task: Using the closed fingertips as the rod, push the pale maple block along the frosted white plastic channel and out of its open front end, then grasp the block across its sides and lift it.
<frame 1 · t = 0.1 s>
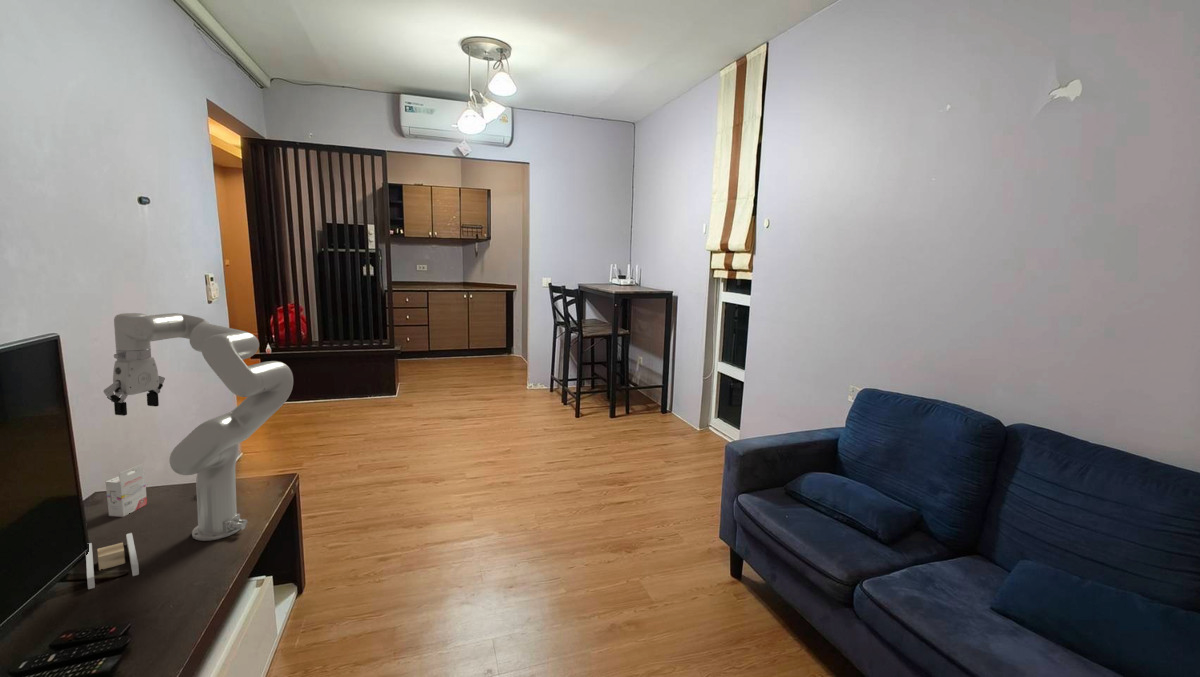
hand: (137, 410, 149), 37 cm above the tv stand, tool pointing down, fingers open, 9 cm apart
ink cartridge box: (128, 510, 161), on the tv stand
frosted channel: (112, 564, 134), on the tv stand
maple block: (111, 563, 135), on the tv stand
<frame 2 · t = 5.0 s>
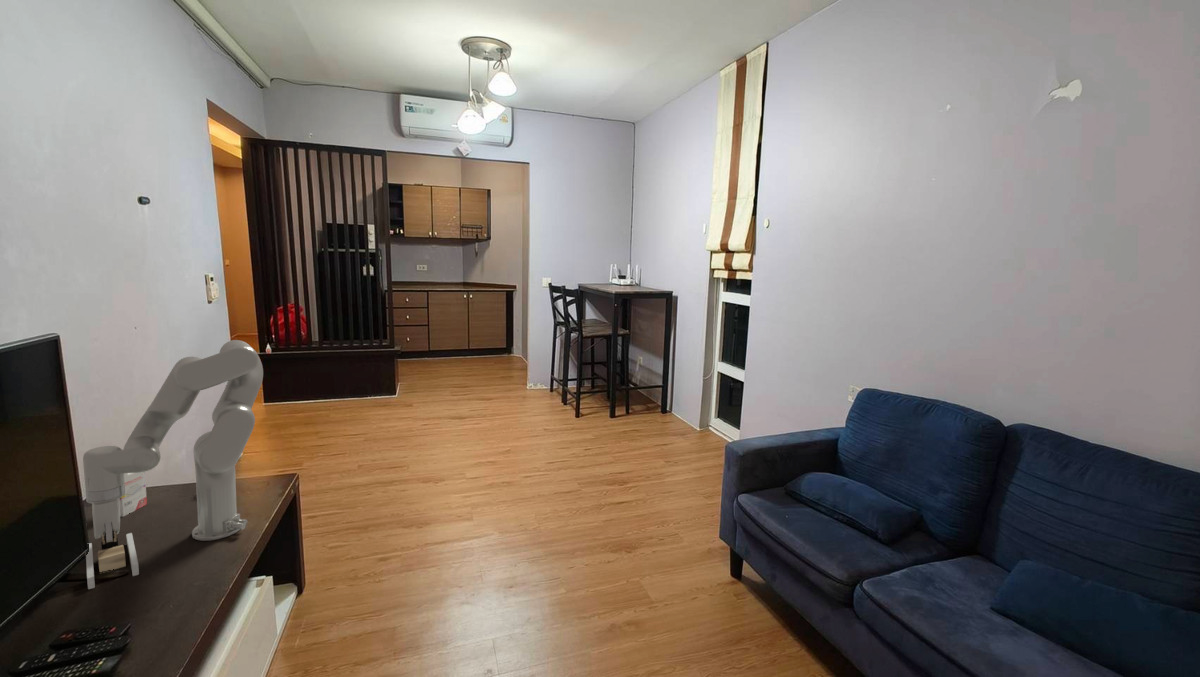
hand: (110, 554, 136), 1 cm above the tv stand, tool pointing down, fingers closed
maple block: (112, 565, 133), on the tv stand
everything else where it was.
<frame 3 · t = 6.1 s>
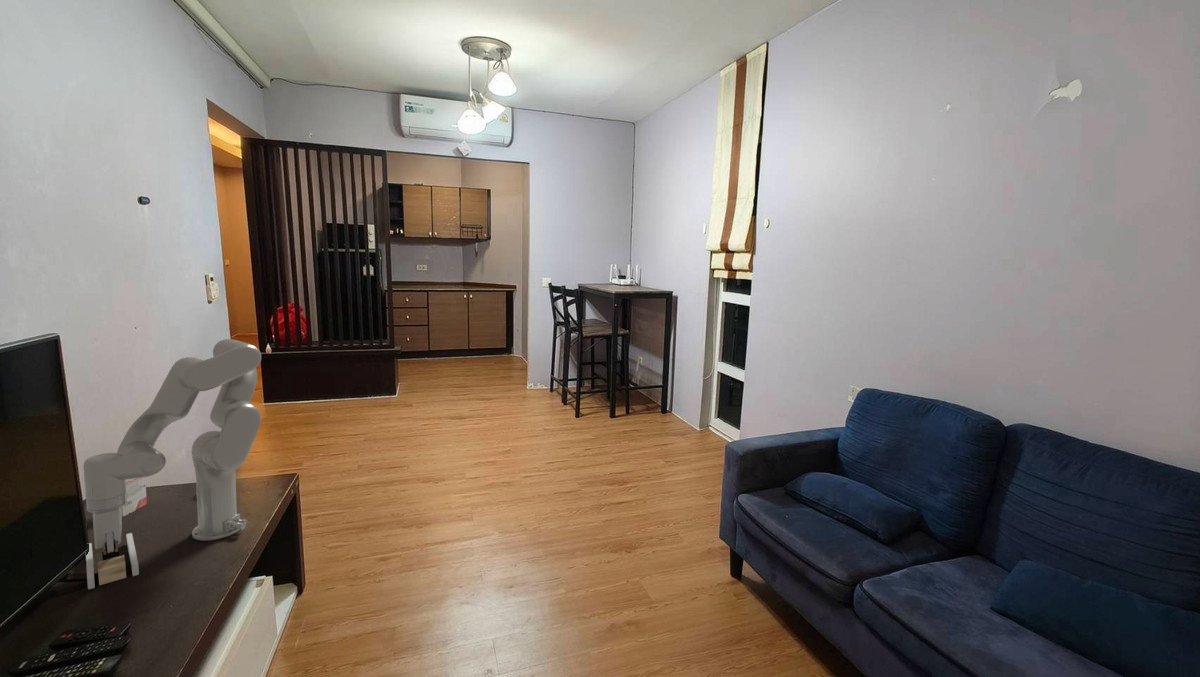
hand: (111, 564, 132), 1 cm above the tv stand, tool pointing down, fingers closed
maple block: (112, 576, 129), on the tv stand, touching gripper
everything else where it was.
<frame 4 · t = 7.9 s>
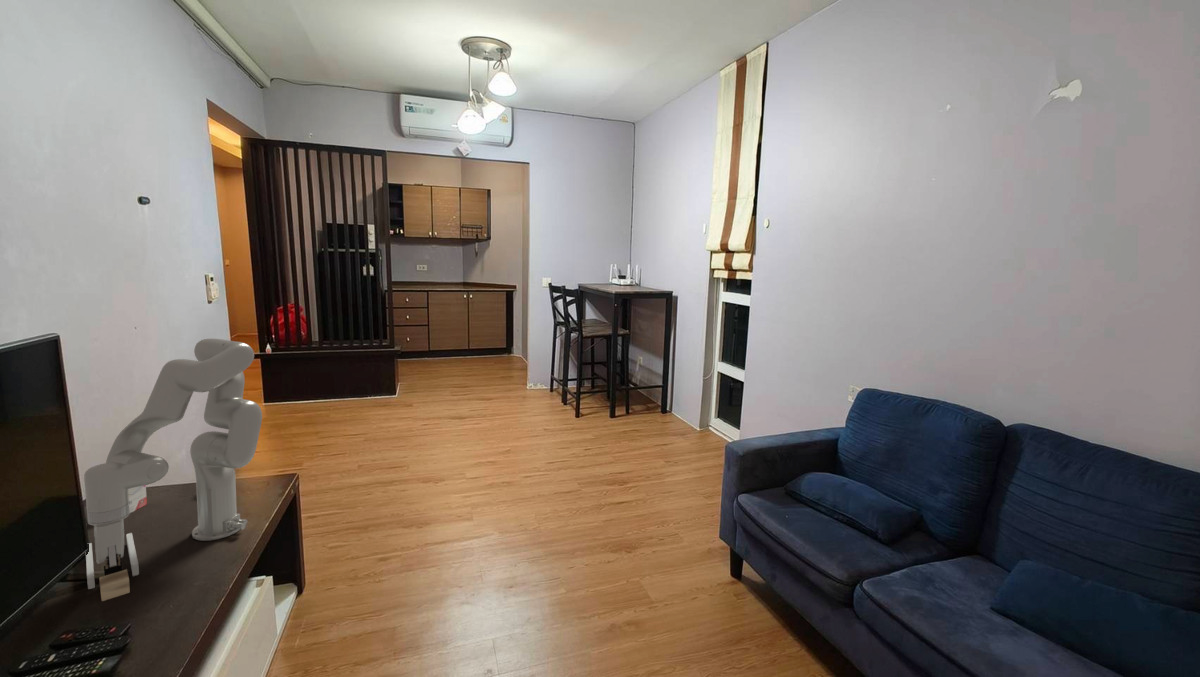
hand: (113, 579, 127), 1 cm above the tv stand, tool pointing down, fingers closed
maple block: (115, 592, 124), on the tv stand, touching gripper
everything else where it was.
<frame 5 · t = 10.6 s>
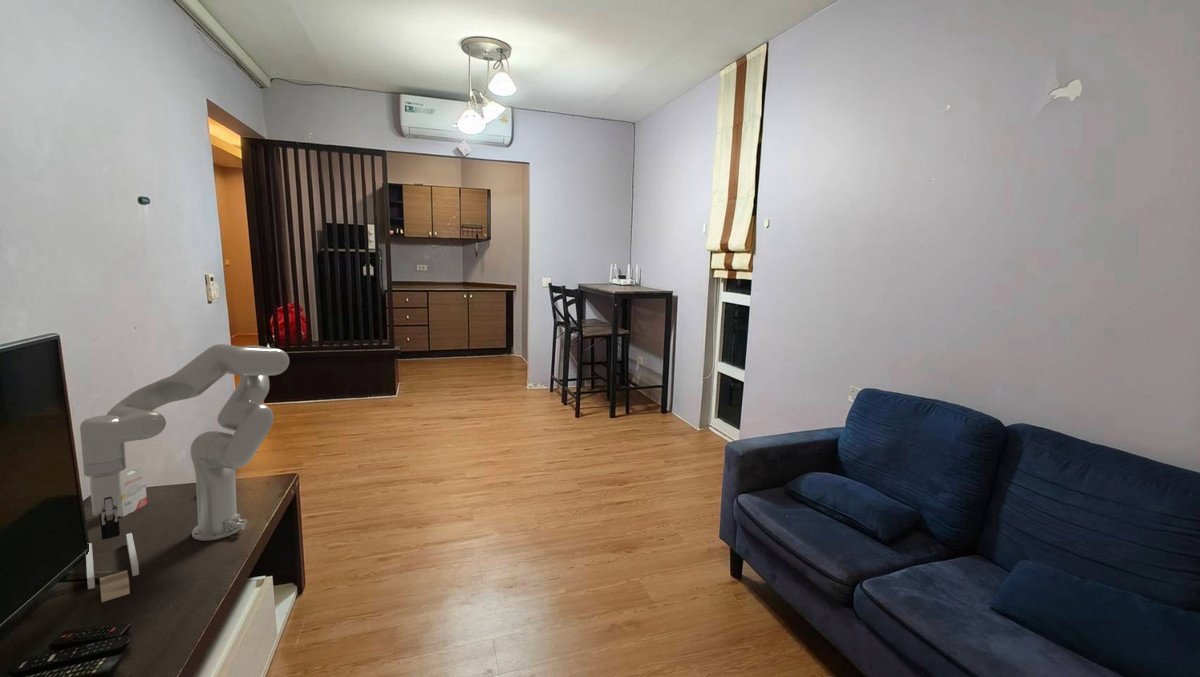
hand: (110, 529, 126), 14 cm above the tv stand, tool pointing down, fingers open, 8 cm apart
maple block: (115, 593, 123), on the tv stand
everything else where it was.
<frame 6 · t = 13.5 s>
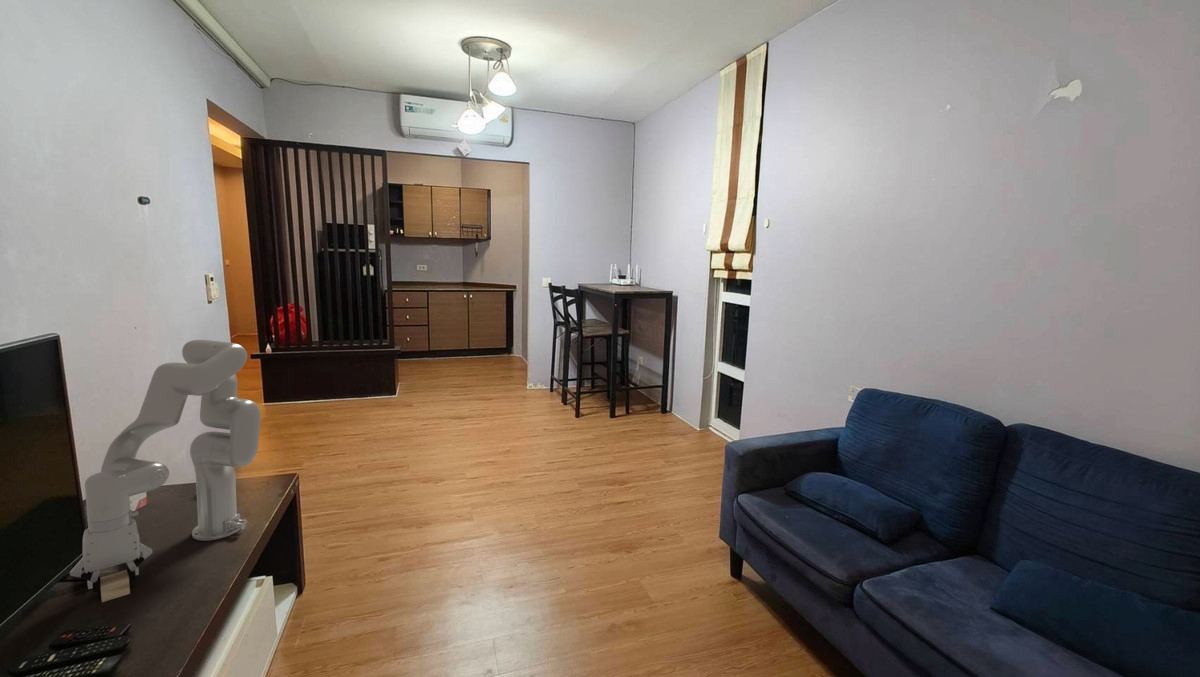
hand: (114, 587, 124), 1 cm above the tv stand, tool pointing down, fingers closed on maple block, 5 cm apart
maple block: (115, 592, 123), on the tv stand, touching gripper
everything else where it was.
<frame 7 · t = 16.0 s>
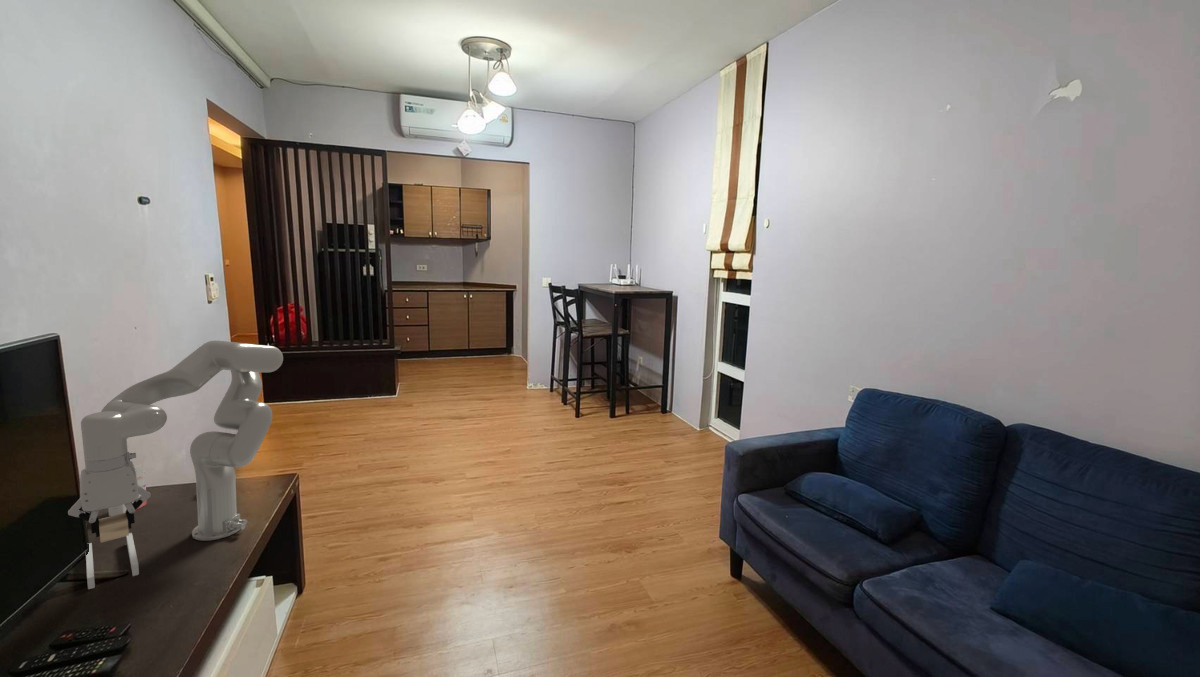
hand: (113, 529, 123), 15 cm above the tv stand, tool pointing down, fingers closed on maple block, 5 cm apart
maple block: (114, 534, 123), point 15 cm above the tv stand, touching gripper
everything else where it was.
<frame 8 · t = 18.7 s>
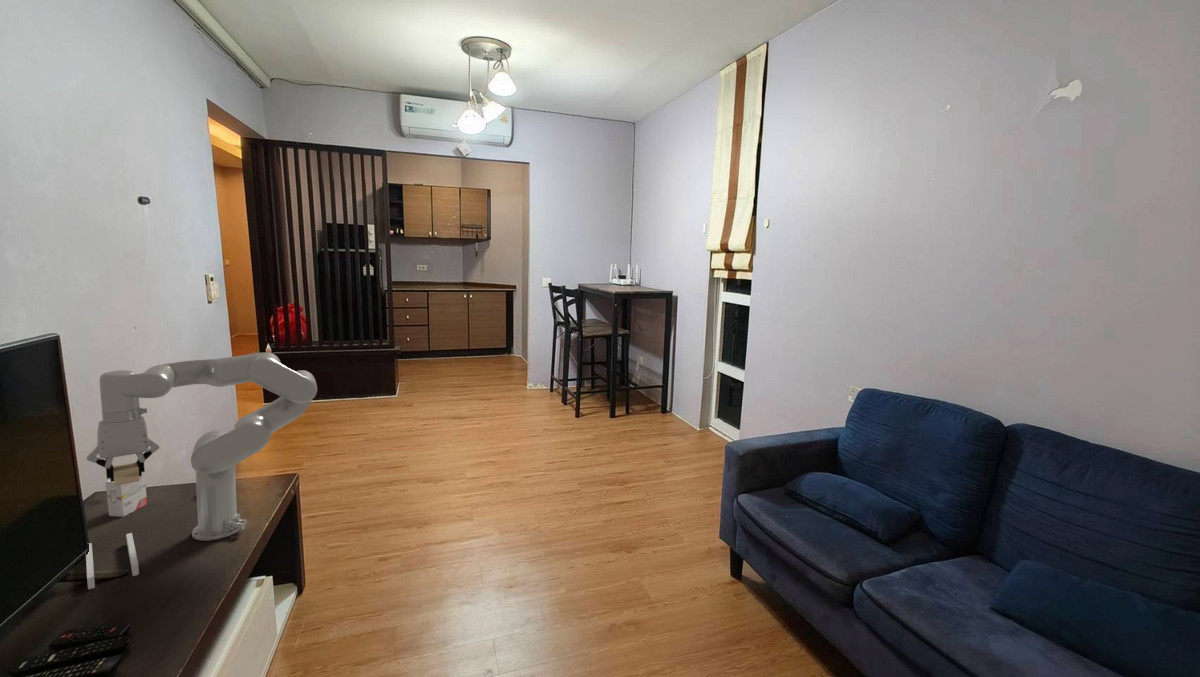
hand: (126, 476, 139), 21 cm above the tv stand, tool pointing down, fingers closed on maple block, 5 cm apart
maple block: (126, 480, 138), point 21 cm above the tv stand, touching gripper
everything else where it was.
at the end: the gripper is holding maple block; maple block point 20.6 cm above the tv stand; maple block moved 21.7 cm from its start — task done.
